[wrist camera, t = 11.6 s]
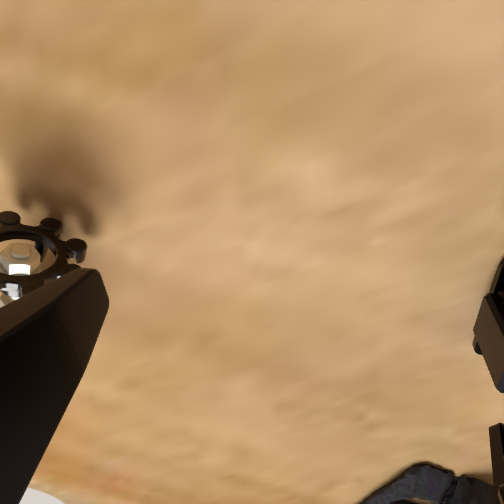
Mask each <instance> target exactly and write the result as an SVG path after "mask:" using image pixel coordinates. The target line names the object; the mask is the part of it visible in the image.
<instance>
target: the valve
mask: <svg viewBox="0 0 504 504" xmlns="http://www.w3.org/2000/svg"><path fill="white" fill-rule="evenodd" d="M20 221H21V218H20V216H19V215H18V214H17V213H15V212H12V211H4V212H1V213H0V242H2V241H5V240H11V239H26V240H31V241H35V248H34V247H33V246H32V245H29V244H22V243H16V244H11V245H9V246H8V247H6V248H5V249H4V250H3V251H2V252H1V253H0V291H1V292H2V293H3V294H2V295H1V296H0V308H1V307H3V306H5V305H7V304H8V303H10V302H12V301H14V300H16V299H18V298H20V297H22V296H24V295H26V294H28V293H30V292H32V291H34V290H36V289H38V288H40V287H42V286H44V285H46V284H48V283H50V282H52V281H53V280H55V279H57V278H59V277H61V276H63V275H65V274H67V273H69V272H71V271H73V270H75V269H78V268H81V267H80V266H78V265H76V264H68V262H67V261H68V259H70V258H75V259H76V263H77V264H78V263H81V262H83V261H84V260H85V257H86V251H87V244H86V242H85V241H83V240H81V239H77V238H73V239H69V240H68V241H62V240H60V237H61V229H62V224H61V222H60V221H59V220H56V219H54V218H45V219H43V220H41V222H40V225H39V226H27V225H23V224H21V222H20ZM48 248H49V249H50V250H51V251H52V252H53V253H54V255H55V258H56V261H55V262H54V264H53V265H52V266H51V267H49V268H48V269H46V270H44V271H42V272H41V262H42V261H43V259H44V257H45V255H46V253H47V250H48Z"/></svg>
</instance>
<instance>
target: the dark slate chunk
mask: <svg viewBox="0 0 504 504" xmlns="http://www.w3.org/2000/svg"><path fill="white" fill-rule="evenodd" d="M453 479H454V480H453ZM452 480H453V481H452ZM455 480H457V481H455ZM413 497H416V498H418V499H422V500H429V501H431V502H432V503H435V504H496V503H495V493H494V487H493V486H491V485H489V484H487V483H485V482H483V481H481V480H478V479H475V478H466V477H465V476H464V475H462V476H460V477H456V476H455V475H454V473H451V472H450V471H448V470H445V471H442V472H441V471H440V470H437V469H434V468H431V467H430V466H428V465H414V466H412V467H411V468H410V469H407V470H406V471H405V472H404V475H403V477H401V478H399V479H398V480H396V481H395V482H393V483H391V484H389V485H387V486H386V487H384V488H382V489H380V490H378V491H376V492H375V493H374V494H373V495H372V496H371V497H369V498H367V499H366V500H365V501H363V502H361V503H360V504H416V503H412V502H408V501H405V500H402V499H412V498H413Z"/></svg>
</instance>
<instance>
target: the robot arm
mask: <svg viewBox="0 0 504 504" xmlns="http://www.w3.org/2000/svg"><path fill="white" fill-rule="evenodd" d="M108 308H109V298H108V295H107V292H106V289H105V286H104V283H103V280H102V277H101V274H100V273H99V271H98V270H96V269H90V268H78V269H75V270H73V271H71V272H69V273H67V274H65V275H63V276H61V277H59V278H57V279H55V280H53V281H52V282H50V283H48V284H46V285H44V286H42V287H40V288H38V289H36V290H34V291H32V292H30V293H28V294H26V295H24V296H22V297H20V298H18V299H16V300H14V301H12V302H10V303H8V304H7V305H5V306H3V307H1V308H0V504H19V503H20V501H21V499H22V497H23V495H24V492H25V491H26V489H27V487H28V485H29V483H30V481H31V479H32V477H33V475H34V473H35V471H36V469H37V467H38V465H39V463H40V461H41V459H42V457H43V455H44V453H45V451H46V449H47V447H48V445H49V443H50V441H51V439H52V437H53V435H54V433H55V431H56V429H57V427H58V425H59V423H60V421H61V419H62V417H63V415H64V413H65V411H66V409H67V407H68V405H69V403H70V401H71V399H72V397H73V395H74V393H75V391H76V389H77V387H78V385H79V383H80V380H81V378H82V376H83V374H84V372H85V370H86V367H87V365H88V362H89V360H90V357H91V354H92V352H93V349H94V346H95V344H96V341H97V338H98V336H99V333H100V330H101V328H102V325H103V322H104V320H105V317H106V314H107V312H108ZM473 331H474V334H475V337H474V340H473V348H474V351H475V352H476V353H477V354H480V355H483V357H484V359H485V362H486V364H487V367H488V370H489V372H490V375H491V377H492V380H493V382H494V385H495V387H496V389H497V390H498V391H499V392H500V393H504V259H503V260H502V261H500V263H499V265H498V268H497V271H496V274H495V277H494V280H493V283H492V286H491V289H490V292H489V293H488V294H486V295H485V296H484V298H483V301H482V304H481V307H480V310H479V313H478V316H477V319H476V323H475V326H474V329H473ZM489 437H490V448H491V459H492V470H493V482H494V493H495V503H496V504H504V424H502V423H498V424H496V425H493V426H491V427H489Z"/></svg>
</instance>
